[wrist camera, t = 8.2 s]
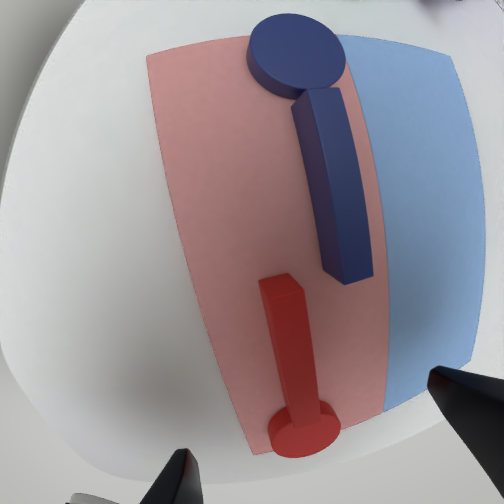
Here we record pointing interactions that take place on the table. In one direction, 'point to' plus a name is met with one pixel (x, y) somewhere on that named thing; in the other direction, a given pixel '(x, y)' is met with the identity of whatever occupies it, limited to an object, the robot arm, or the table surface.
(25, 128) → the table surface
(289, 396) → the red spoon
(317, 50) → the navy spoon
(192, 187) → the sorting mat
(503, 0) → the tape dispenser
